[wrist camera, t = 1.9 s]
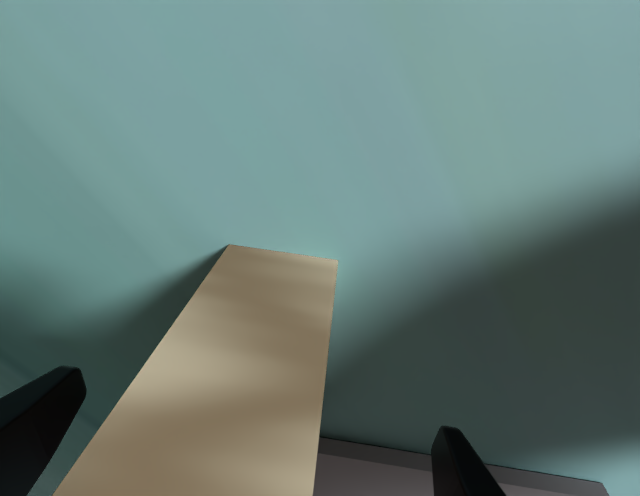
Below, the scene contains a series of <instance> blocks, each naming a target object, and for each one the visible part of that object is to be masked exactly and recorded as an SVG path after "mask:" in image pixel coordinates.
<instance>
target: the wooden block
mask: <svg viewBox="0 0 640 496" xmlns="http://www.w3.org/2000/svg"><path fill="white" fill-rule="evenodd" d="M337 267H338V260H334V259H327V258H320V257H313V256H306V255H299V254H292V253H285V252H278V251H271V250H264V249H257V248H250V247H244V246H237V245H230V244H229V245H228V247H227V248H226V249H225V251H224V252H223V254H222V255H221V256H220V258H219V259H218V261H217V262H216V264H215V265H214V266H213V268H212V269H211V271H210V272H209V274H208V275H207V276H206V278H205V279H204V281H203V282H202V283H201V285H200V286H199V288H198V289H197V291H196V292H195V293H194V295H193V296H192V298H191V299H190V300H189V302H188V303H187V305H186V306H185V308H184V309H183V310H182V312H181V313H180V315H179V316H178V318H177V319H176V320H175V322H174V323H173V325H172V326H171V327H170V329H169V330H168V332H167V333H166V335H165V336H164V337H163V339H162V340H161V342H160V343H159V344H158V346H157V347H156V349H155V350H154V352H153V353H152V354H151V356H150V357H149V359H148V360H147V362H146V363H145V364H144V366H143V367H142V369H141V370H140V371H139V373H138V374H137V376H136V377H135V379H134V380H133V381H132V383H131V384H130V386H129V387H128V388H127V390H126V391H125V393H124V394H123V396H122V397H121V398H120V400H119V401H118V403H117V404H116V406H115V407H114V408H113V410H112V411H111V413H110V414H109V415H108V417H107V418H106V420H105V421H104V423H103V424H102V425H101V427H100V428H99V430H98V431H97V432H96V434H95V435H94V437H93V438H92V440H91V441H90V442H89V444H88V445H87V447H86V448H85V450H84V451H83V452H82V454H81V455H80V457H79V458H78V459H77V461H76V462H75V464H74V465H73V467H72V468H71V469H70V471H69V472H68V474H67V475H66V476H65V478H64V479H63V481H62V482H61V484H60V485H59V486H58V488H57V489H56V491H55V492H54V494H53V495H52V496H313V488H314V479H315V470H316V460H317V451H318V442H319V433H320V424H321V414H322V405H323V396H324V387H325V378H326V368H327V359H328V350H329V341H330V332H331V322H332V313H333V304H334V295H335V286H336V276H337Z"/></svg>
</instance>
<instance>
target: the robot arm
mask: <svg viewBox="0 0 640 496" xmlns="http://www.w3.org/2000/svg"><path fill="white" fill-rule="evenodd" d="M85 396H86V386H85V382H84V379H83V375H82V372H81V370H80V369H79V368H77V367H71V366H60V367H58V368H56V369H54V370H52V371H50V372H48V373H46V374H45V375H43V376H41V377H39V378H37V379H35V380H33V381H32V382H30V383H28V384H26V385H24V386H22V387H20V388H19V389H17V390H15V391H13V392H11V393H9V394H8V395H6V396H4V397H2V398H0V496H27V494H28V493H29V491H30V490H31V488H32V487H33V485H34V484H35V482H36V481H37V479H38V478H39V477H40V475H41V474H42V472H43V471H44V469H45V468H46V466H47V464H48V463H49V461H50V460H51V458H52V456H53V455H54V453H55V451H56V450H57V448H58V446H59V444H60V442H61V441H62V439H63V437H64V435H65V433H66V432H67V430H68V428H69V426H70V424H71V423H72V421H73V419H74V417H75V415H76V414H77V412H78V410H79V408H80V407H81V405H82V403H83V401H84V399H85ZM431 461H432V475H433V489H434V496H507V495H506V494H505V493H504V491H503V490H502V488H501V487H500V486H499V484H498V483H497V481H496V480H495V479H494V477H493V476H492V474H491V473H490V471H489V470H488V469H487V467H486V466H485V464H484V463H483V462H482V460H481V459H480V457H479V456H478V455H477V453H476V452H475V450H474V449H473V447H472V446H471V445H470V443H469V442H468V440H467V439H466V438H465V436H464V435H463V433H462V432H461V431H460V430H459V429H458V428H455V427H449V426H441V427H440V428H439V431H438V433H437V435H436V438H435V440H434V443H433V445H432V449H431Z"/></svg>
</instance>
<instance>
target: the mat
mask: <svg viewBox="0 0 640 496" xmlns="http://www.w3.org/2000/svg"><path fill="white" fill-rule="evenodd" d="M485 466H486V467H487V469H488V470H489V471H490V473H491V474H492V476H493V477H494V479H495V480H496V481H497V483H498V484H499V486H500V487H501V488H502V490H503V491H504V493H505V494H506V495H507V496H609V494H608V493H607V491H606V489H605V487H604V486H603V484H602V483H597V482H591V481H585V480H579V479H573V478H567V477H560V476H554V475H548V474H542V473H536V472H530V471H524V470H517V469H511V468H505V467H499V466H493V465H487V464H485ZM313 496H434V489H433V475H432V461H431V455H425V454H419V453H413V452H407V451H401V450H394V449H388V448H382V447H376V446H370V445H364V444H358V443H351V442H345V441H339V440H333V439H327V438H321V437H319V442H318V451H317V460H316V470H315V479H314V488H313Z"/></svg>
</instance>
